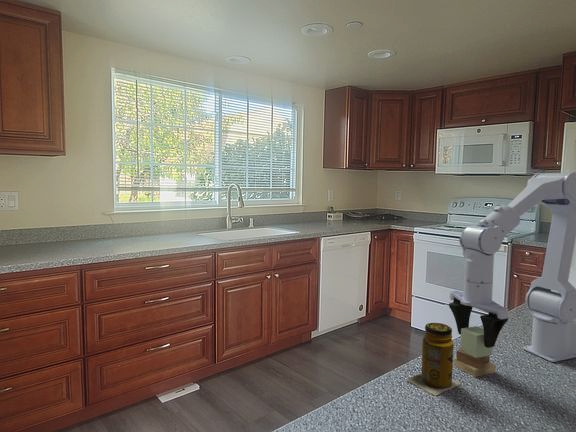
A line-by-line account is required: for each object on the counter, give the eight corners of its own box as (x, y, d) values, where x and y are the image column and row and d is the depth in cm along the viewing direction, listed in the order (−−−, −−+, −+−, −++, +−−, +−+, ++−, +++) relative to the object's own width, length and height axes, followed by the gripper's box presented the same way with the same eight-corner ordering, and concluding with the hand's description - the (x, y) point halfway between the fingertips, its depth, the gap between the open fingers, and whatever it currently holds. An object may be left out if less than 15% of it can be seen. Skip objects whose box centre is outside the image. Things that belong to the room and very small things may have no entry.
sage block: (475, 347, 90) (476, 326, 90) (491, 355, 86) (492, 333, 86) (460, 349, 89) (461, 328, 88) (476, 358, 85) (476, 335, 84)
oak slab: (474, 363, 92) (474, 354, 92) (495, 374, 86) (495, 365, 86) (453, 367, 90) (453, 357, 90) (473, 379, 84) (474, 369, 84)
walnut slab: (467, 354, 92) (467, 345, 91) (489, 361, 88) (489, 352, 88) (456, 360, 89) (456, 350, 88) (478, 368, 85) (478, 358, 84)
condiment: (461, 384, 81) (463, 328, 80) (435, 396, 76) (437, 337, 75) (431, 370, 87) (432, 318, 86) (405, 380, 83) (407, 325, 82)
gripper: (440, 274, 92) (438, 330, 93) (491, 290, 78) (488, 355, 79) (464, 272, 94) (462, 326, 95) (517, 287, 80) (514, 351, 82)
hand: (475, 339), depth 87 cm, fingers open, 7 cm apart
